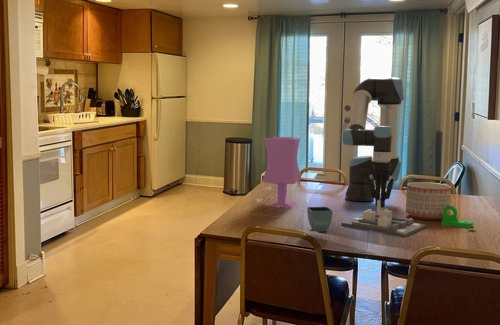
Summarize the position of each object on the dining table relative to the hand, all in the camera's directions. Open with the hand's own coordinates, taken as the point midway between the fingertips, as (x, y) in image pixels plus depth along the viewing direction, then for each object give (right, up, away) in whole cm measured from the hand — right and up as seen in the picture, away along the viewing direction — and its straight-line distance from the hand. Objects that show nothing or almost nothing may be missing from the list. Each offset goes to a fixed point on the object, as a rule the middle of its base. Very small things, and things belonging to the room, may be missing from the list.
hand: (379, 214), depth 210 cm
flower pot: (-29, -5, -16) cm, 34 cm away
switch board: (-1, -4, -8) cm, 9 cm away
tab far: (+2, -2, -2) cm, 3 cm away
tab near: (-3, -4, -16) cm, 17 cm away
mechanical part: (+32, -4, -5) cm, 33 cm away
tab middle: (-6, -2, -4) cm, 7 cm away
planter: (+25, -3, +11) cm, 28 cm away
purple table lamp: (-41, 0, +33) cm, 53 cm away
